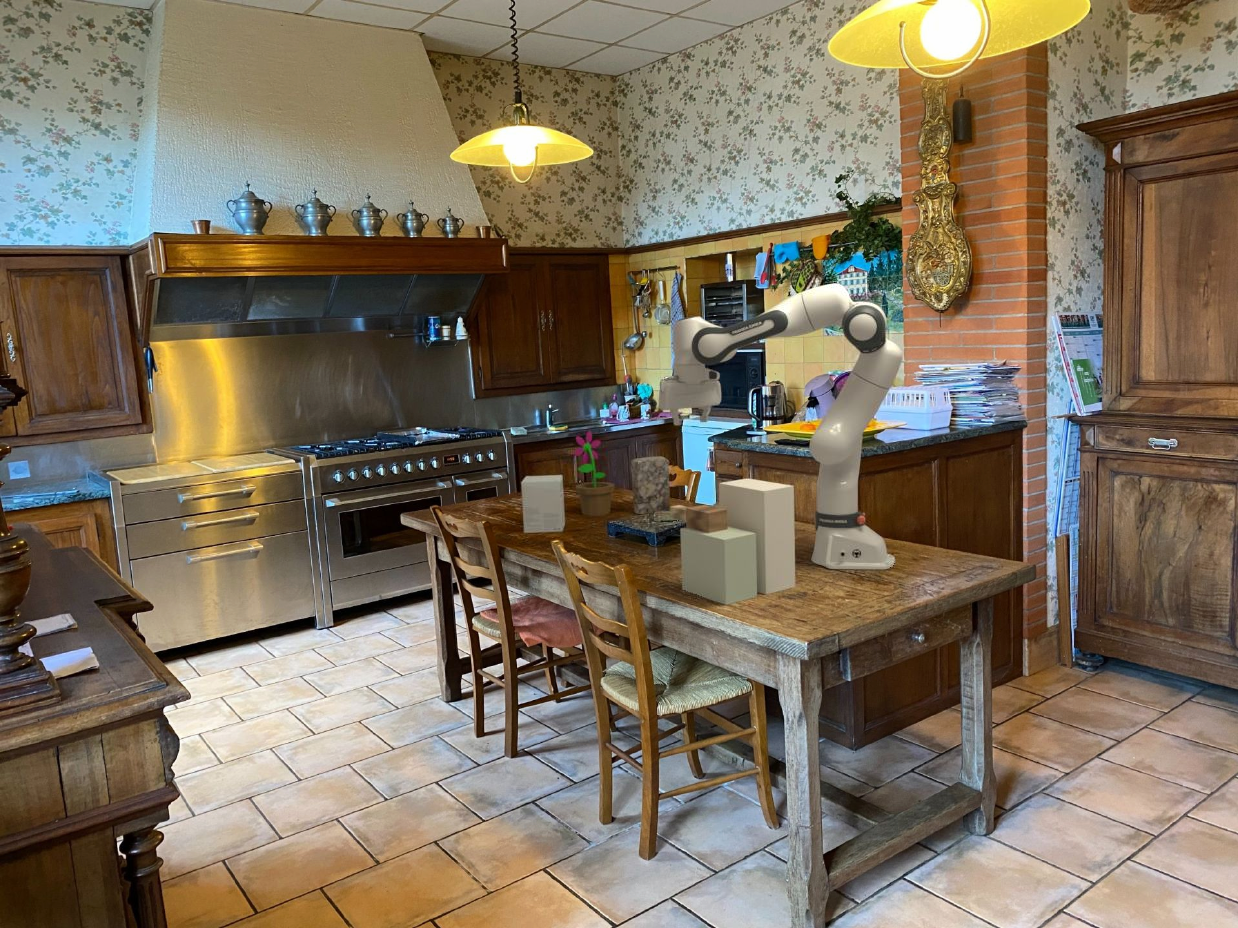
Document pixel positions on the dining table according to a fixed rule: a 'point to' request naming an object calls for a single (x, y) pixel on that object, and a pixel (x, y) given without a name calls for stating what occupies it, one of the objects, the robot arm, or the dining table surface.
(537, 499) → the supplement box
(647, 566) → the dining table surface
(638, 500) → the stone block
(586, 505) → the flowerpot
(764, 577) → the stand
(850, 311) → the robot arm
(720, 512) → the mallet
